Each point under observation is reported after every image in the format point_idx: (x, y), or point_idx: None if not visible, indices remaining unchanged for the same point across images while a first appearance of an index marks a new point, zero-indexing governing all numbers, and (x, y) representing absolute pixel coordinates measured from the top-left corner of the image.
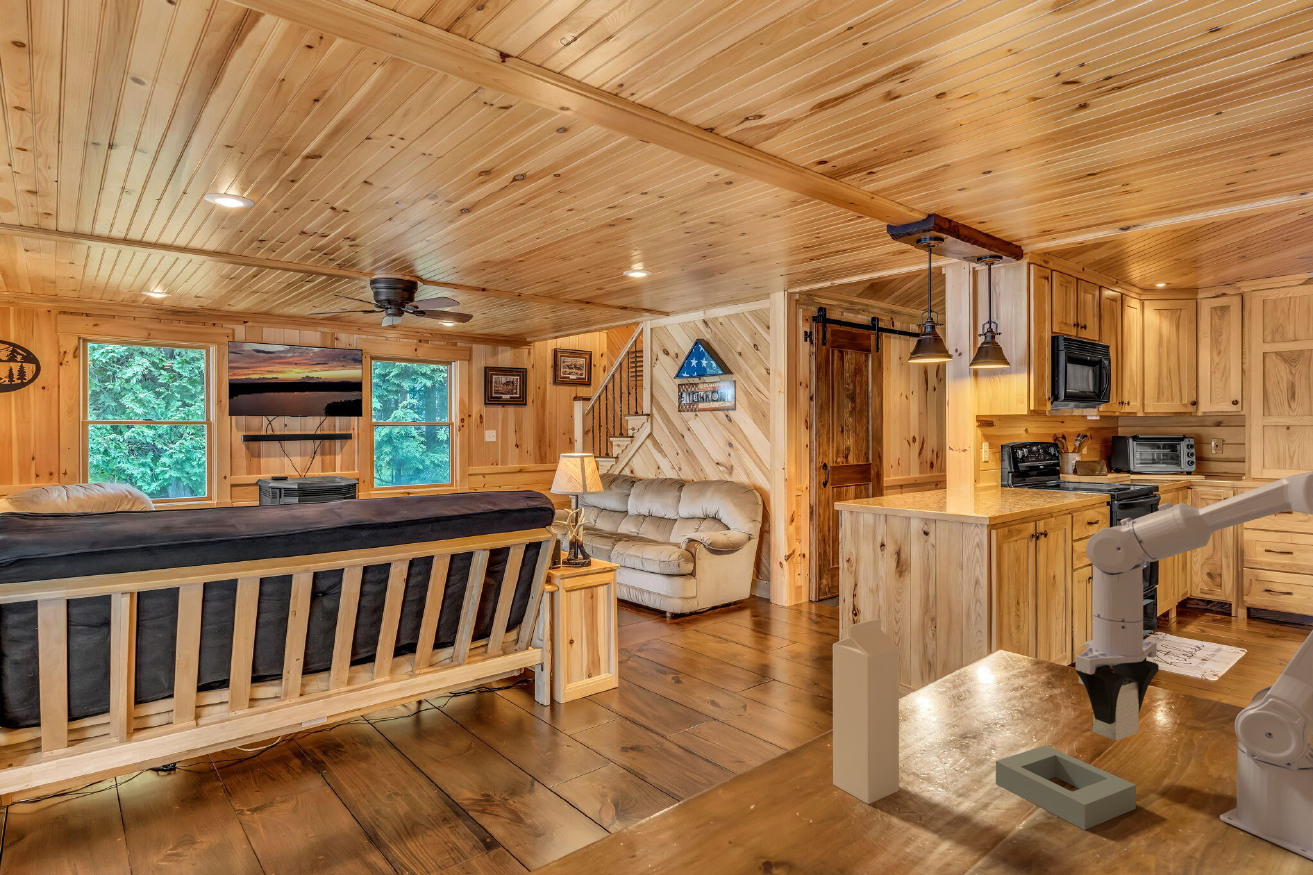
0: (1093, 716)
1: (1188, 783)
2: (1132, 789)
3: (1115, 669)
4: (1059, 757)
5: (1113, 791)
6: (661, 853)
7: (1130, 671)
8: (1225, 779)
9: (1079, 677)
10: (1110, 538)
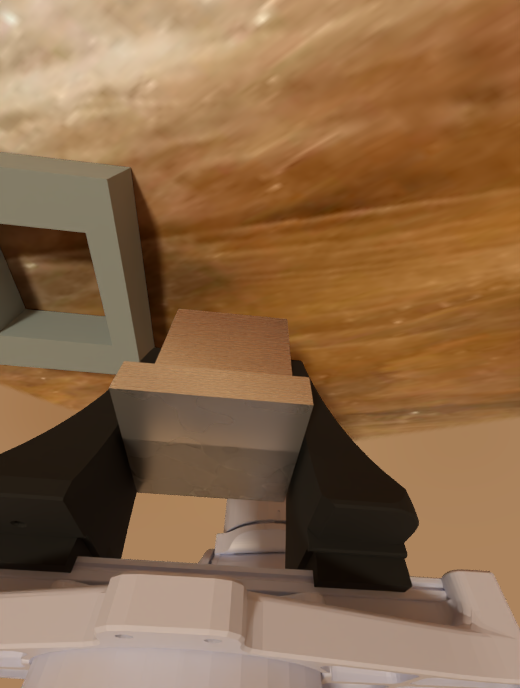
0: (166, 337)
1: (320, 358)
2: None
3: (309, 467)
4: (89, 243)
5: (80, 367)
6: None
7: (297, 514)
8: (382, 380)
9: (114, 384)
10: None
